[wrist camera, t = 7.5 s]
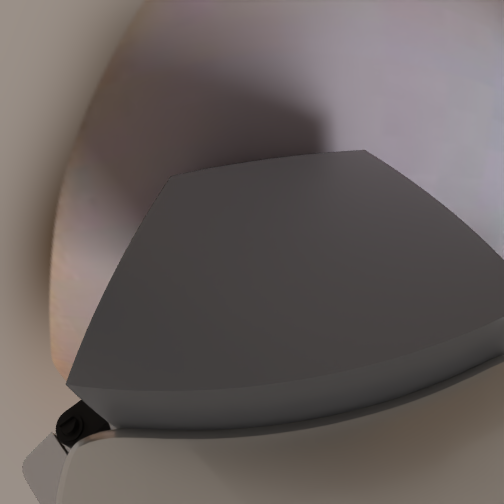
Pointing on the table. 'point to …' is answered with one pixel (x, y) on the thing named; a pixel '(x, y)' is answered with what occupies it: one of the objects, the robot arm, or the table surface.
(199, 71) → the table surface
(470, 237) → the gray cube
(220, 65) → the table surface
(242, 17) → the table surface
